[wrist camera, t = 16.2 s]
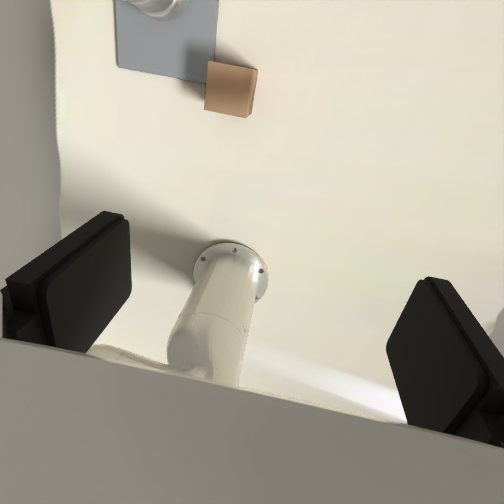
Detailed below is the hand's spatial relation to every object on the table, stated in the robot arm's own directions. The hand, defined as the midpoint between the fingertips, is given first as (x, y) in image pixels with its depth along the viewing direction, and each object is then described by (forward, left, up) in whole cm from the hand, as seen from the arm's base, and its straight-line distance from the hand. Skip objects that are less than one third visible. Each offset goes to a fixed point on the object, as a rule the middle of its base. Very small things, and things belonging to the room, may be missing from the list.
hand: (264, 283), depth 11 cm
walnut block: (+3, +8, -36) cm, 37 cm away
